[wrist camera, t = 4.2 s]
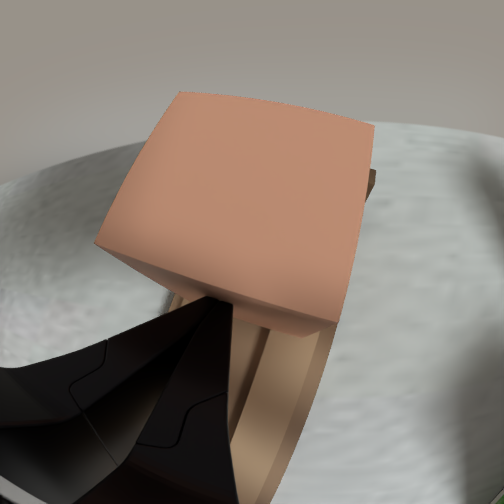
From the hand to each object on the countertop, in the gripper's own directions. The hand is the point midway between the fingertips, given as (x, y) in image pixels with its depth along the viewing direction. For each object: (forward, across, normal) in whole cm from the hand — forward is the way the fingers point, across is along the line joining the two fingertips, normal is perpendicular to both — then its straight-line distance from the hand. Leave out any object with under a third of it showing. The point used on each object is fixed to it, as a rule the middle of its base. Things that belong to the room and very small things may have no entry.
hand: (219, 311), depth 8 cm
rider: (+7, 0, +3) cm, 7 cm away
